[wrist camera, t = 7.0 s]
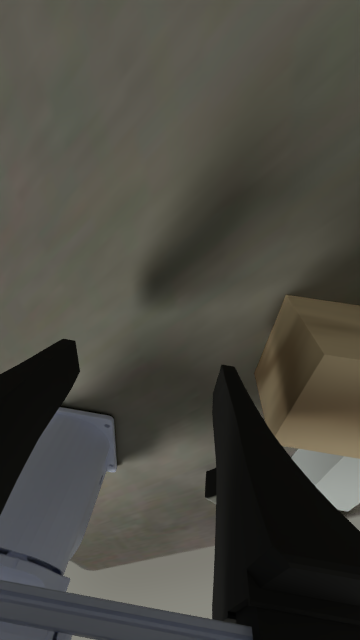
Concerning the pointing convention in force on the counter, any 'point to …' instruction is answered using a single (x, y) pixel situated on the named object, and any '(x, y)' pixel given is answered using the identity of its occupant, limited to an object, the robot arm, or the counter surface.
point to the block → (313, 376)
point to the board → (332, 476)
